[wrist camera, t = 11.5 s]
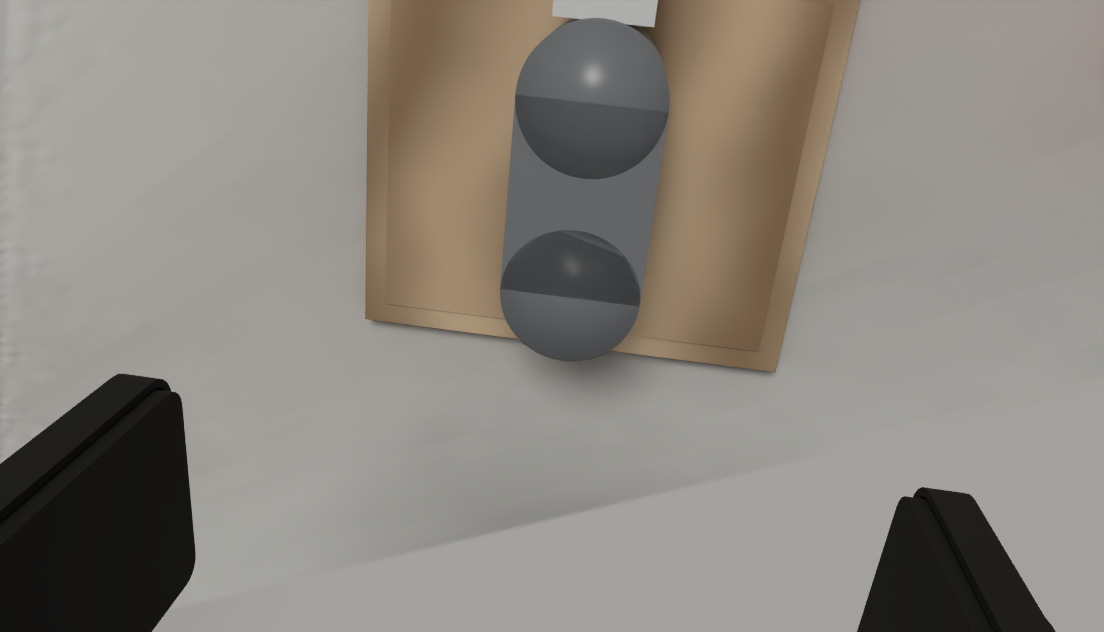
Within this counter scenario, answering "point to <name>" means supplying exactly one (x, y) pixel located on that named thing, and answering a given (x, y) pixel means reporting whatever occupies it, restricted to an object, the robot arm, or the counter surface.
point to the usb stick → (584, 179)
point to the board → (684, 182)
